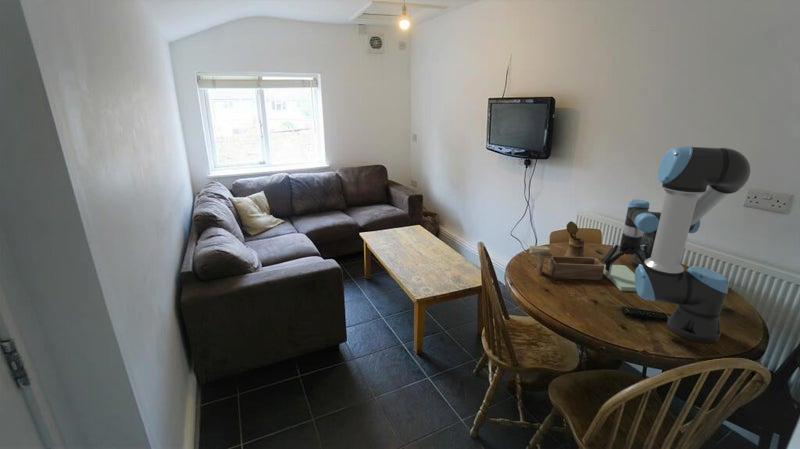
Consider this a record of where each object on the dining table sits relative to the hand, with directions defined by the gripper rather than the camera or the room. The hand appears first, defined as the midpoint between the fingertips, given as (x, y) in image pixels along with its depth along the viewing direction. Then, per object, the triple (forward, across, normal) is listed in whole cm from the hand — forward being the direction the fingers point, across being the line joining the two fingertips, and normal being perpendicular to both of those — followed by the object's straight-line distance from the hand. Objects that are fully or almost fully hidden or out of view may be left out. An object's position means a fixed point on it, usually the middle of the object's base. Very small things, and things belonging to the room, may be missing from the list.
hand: (623, 277), depth 174 cm
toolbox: (+1, +24, -3) cm, 24 cm away
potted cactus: (+1, +15, -23) cm, 27 cm away
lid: (+1, 0, 0) cm, 1 cm away
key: (-9, +38, -3) cm, 39 cm away
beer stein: (+1, -19, -13) cm, 23 cm away
